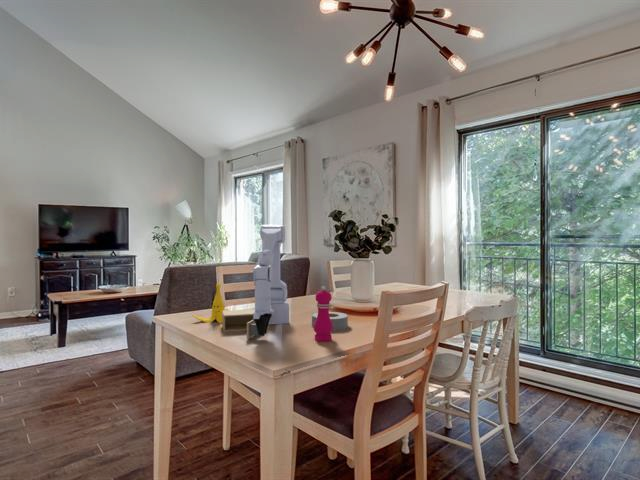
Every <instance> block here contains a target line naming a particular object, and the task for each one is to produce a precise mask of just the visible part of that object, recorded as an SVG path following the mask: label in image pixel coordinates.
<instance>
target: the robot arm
mask: <svg viewBox="0 0 640 480" xmlns="http://www.w3.org/2000/svg"><path fill="white" fill-rule="evenodd" d="M259 235H260V239H261V241H262V242H263V246H262V247H263V248H262V250H261V251H260V252H259V254H258V258H257V263H256V266H253V271H252V277H253V286H254V309H255V310H254V313H253V320H254V321H255V323H256V326H257V331H258V335H264V336H265V335H267V333H268V328H269V325H280V324H283V325H285V324H290V305H289V304H290V303H289V301H287V300H288V285H287V283H286V282H284V280H281V246H282V244H283V243H285V241H286V227H285V225H284V224H281V225H280V224H279V225H278V224H275V225H274V224H261V226H260V230H259Z"/></svg>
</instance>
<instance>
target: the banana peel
mask: <svg viewBox="0 0 640 480" xmlns="http://www.w3.org/2000/svg"><path fill="white" fill-rule="evenodd" d="M215 287H216V293H215V295H214V299H213V302H212V307H211V316H210V317H209V318H206V317H204V318H203V317H200V316H197V315H195V314H192V316H193V317H194V318H195V319H197V320H199V321H201V322H202V323H212V322H214V321H215V320H216V322H217V323H219V324H222V311H225V310H229V309H228V308H225V306H224V305H225V304H224V301H223V298H222V294H221V283H216V284H215Z"/></svg>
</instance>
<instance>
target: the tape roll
mask: <svg viewBox="0 0 640 480" xmlns="http://www.w3.org/2000/svg"><path fill="white" fill-rule="evenodd" d="M317 315H318V312H314V313H312V314H311V327H312V328H313V329H314V323H315V321H316V319H317ZM329 317H330V320H331V322H332V325H333V330H332V332H333V331H343V330H346V329H347V328H348V325H349V324H348V323H349V322H348V318H349V317H348V314H347V313H344V312H337V311H329Z"/></svg>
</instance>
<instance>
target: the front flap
mask: <svg viewBox="0 0 640 480" xmlns="http://www.w3.org/2000/svg"><path fill="white" fill-rule="evenodd" d="M255 336H258V337H265V335H258V331H257V326H256V323H255V321H254V320H251V321H250V322H248V323H247V330H246V339H247V340H250V339H251V338H252V337H255Z"/></svg>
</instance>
